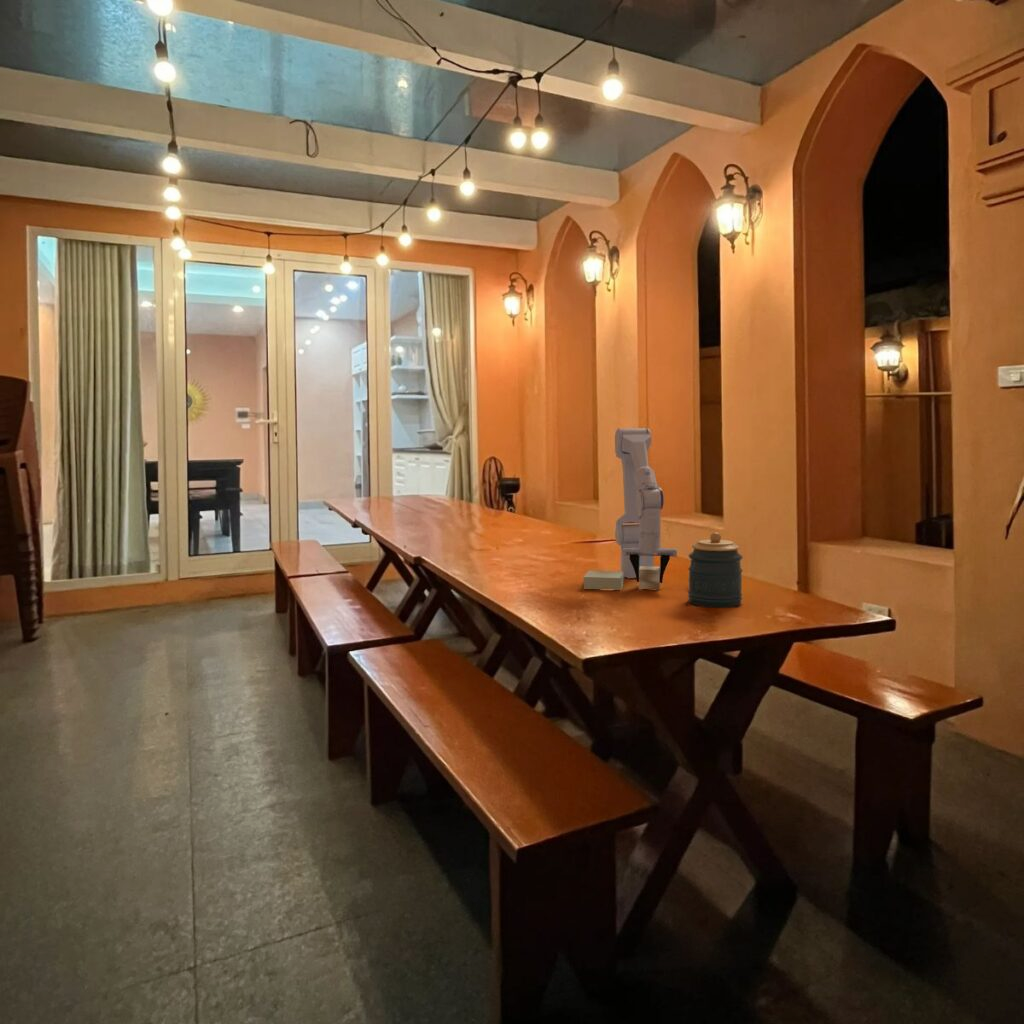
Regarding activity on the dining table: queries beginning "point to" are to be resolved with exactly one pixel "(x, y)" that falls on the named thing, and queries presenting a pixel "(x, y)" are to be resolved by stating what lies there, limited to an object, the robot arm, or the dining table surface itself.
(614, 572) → the sage pedestal
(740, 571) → the canister
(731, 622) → the dining table surface
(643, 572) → the cream cube
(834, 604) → the dining table surface
